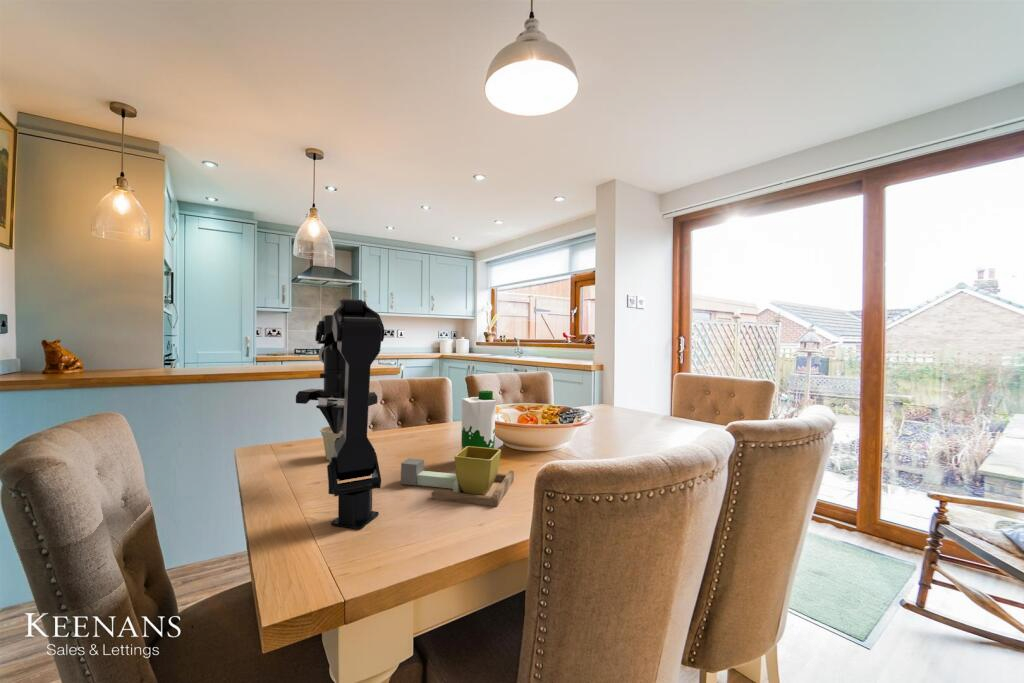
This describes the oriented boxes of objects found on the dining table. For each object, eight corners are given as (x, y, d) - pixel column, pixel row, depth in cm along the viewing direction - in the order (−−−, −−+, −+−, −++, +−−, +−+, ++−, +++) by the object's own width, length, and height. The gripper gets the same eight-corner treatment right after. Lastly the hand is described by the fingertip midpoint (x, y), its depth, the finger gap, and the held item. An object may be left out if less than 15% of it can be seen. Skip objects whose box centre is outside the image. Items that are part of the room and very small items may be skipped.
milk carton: (498, 465, 114) (499, 393, 113) (467, 469, 110) (468, 395, 110) (486, 456, 122) (487, 389, 121) (457, 459, 118) (458, 390, 118)
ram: (457, 493, 93) (458, 471, 93) (396, 486, 96) (396, 465, 96) (469, 481, 101) (469, 461, 101) (412, 475, 104) (412, 455, 104)
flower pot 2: (501, 485, 99) (501, 448, 98) (490, 500, 90) (491, 459, 90) (466, 482, 101) (467, 445, 101) (453, 495, 92) (453, 456, 92)
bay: (497, 506, 87) (497, 494, 87) (431, 498, 90) (431, 487, 90) (513, 480, 102) (513, 470, 102) (456, 475, 105) (456, 465, 105)
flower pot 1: (322, 454, 121) (322, 425, 121) (356, 452, 124) (356, 423, 124) (317, 464, 112) (317, 432, 112) (354, 461, 115) (354, 430, 115)
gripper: (389, 367, 104) (389, 428, 104) (325, 364, 108) (325, 423, 109) (364, 371, 93) (363, 439, 93) (294, 368, 97) (293, 433, 98)
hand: (336, 433), depth 99 cm, fingers closed
